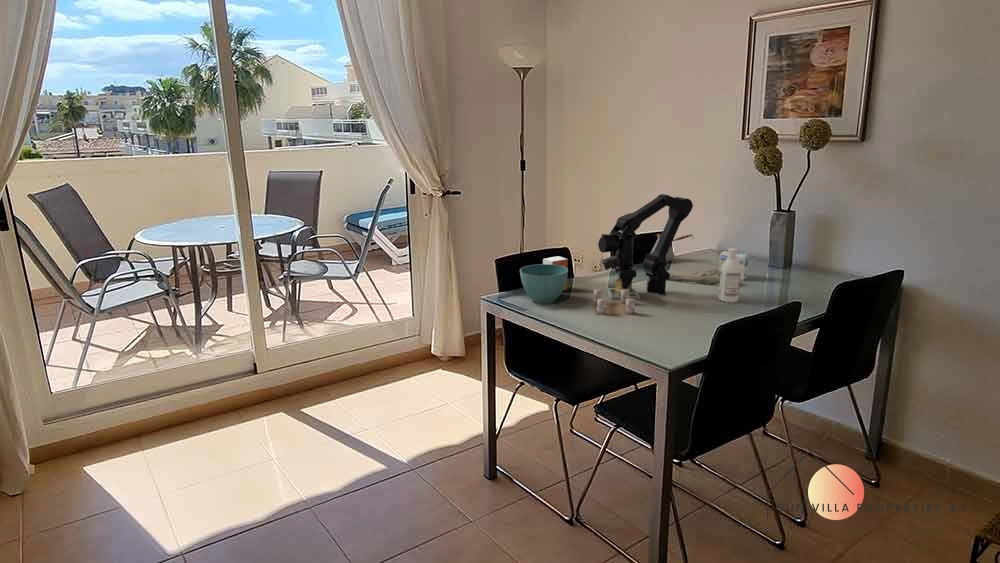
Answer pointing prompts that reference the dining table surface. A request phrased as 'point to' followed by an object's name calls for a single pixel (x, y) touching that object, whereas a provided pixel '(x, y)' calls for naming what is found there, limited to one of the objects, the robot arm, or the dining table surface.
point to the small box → (557, 263)
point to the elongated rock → (696, 276)
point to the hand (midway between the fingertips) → (623, 289)
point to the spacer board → (613, 304)
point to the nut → (619, 286)
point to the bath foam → (730, 278)
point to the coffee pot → (670, 252)
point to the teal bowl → (543, 281)
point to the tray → (620, 296)
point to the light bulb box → (742, 261)
